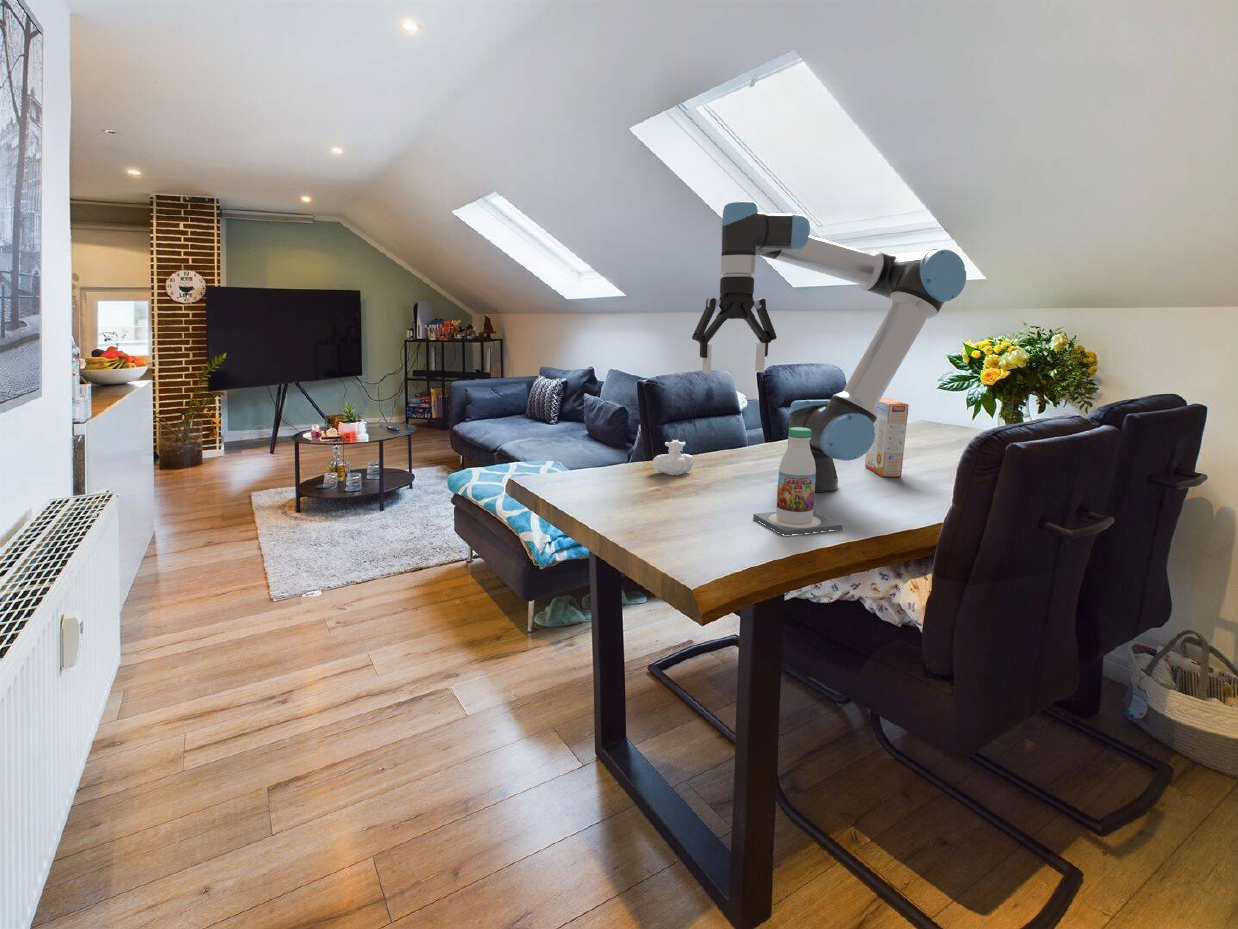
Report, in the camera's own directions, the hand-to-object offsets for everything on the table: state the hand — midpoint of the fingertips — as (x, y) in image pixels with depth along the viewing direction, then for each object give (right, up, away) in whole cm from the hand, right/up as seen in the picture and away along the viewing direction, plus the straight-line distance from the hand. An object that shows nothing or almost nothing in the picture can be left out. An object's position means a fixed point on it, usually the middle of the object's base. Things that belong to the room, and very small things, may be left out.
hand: (733, 372), depth 156 cm
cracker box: (+50, -24, +41) cm, 69 cm away
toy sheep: (-11, -24, +38) cm, 46 cm away
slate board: (+12, -34, -8) cm, 37 cm away
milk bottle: (+12, -33, -9) cm, 36 cm away
